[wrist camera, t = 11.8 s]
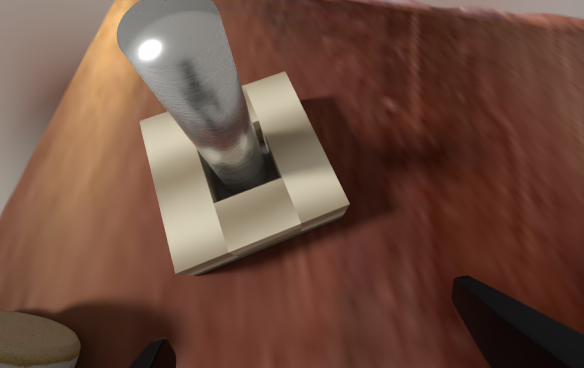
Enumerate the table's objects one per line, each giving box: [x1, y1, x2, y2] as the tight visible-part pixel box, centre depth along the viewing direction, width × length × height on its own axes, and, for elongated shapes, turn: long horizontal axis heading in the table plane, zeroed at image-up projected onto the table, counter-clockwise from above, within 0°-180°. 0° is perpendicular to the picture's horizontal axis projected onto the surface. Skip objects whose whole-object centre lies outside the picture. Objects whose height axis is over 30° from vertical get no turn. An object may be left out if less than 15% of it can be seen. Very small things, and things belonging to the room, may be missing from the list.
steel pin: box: [117, 0, 267, 195], centre depth 16 cm, size 4×4×14 cm
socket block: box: [140, 72, 350, 276], centre depth 22 cm, size 12×12×4 cm
